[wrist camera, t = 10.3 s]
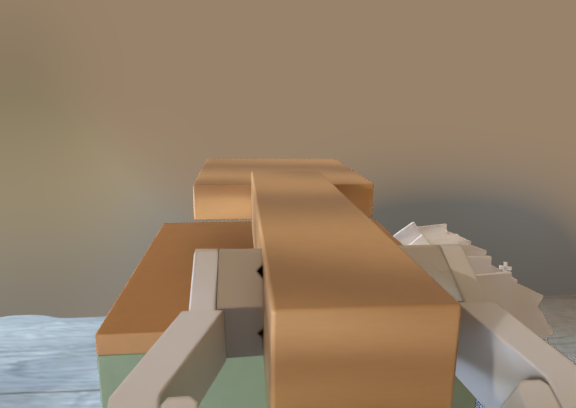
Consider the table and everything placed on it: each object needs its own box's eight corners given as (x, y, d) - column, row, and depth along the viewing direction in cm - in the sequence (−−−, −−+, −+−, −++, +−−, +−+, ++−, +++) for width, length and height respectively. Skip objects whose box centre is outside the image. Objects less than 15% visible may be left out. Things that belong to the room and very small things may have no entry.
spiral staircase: (431, 345, 75) (513, 455, 50) (331, 301, 73) (365, 392, 48) (488, 243, 73) (603, 305, 48) (386, 194, 70) (451, 232, 46)
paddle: (593, 420, 8) (614, 299, 8) (107, 447, 7) (97, 315, 7) (334, 183, 30) (335, 149, 30) (207, 184, 30) (206, 148, 29)
